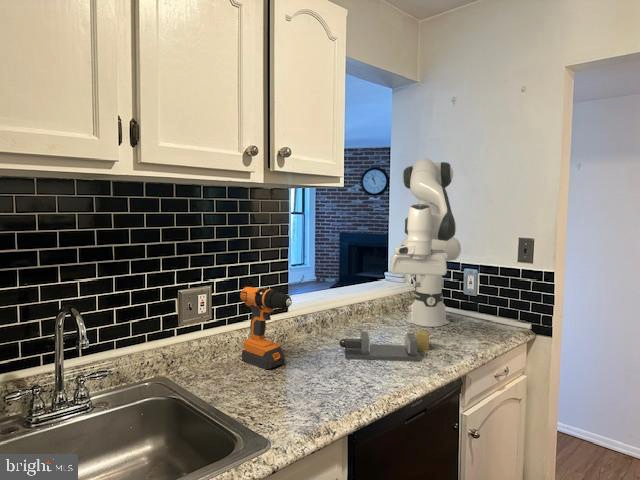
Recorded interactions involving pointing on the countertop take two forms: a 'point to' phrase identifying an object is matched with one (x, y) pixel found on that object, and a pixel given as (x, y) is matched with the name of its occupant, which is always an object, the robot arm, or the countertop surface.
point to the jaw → (358, 343)
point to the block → (422, 340)
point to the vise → (388, 351)
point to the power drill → (262, 326)
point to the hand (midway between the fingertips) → (417, 286)
